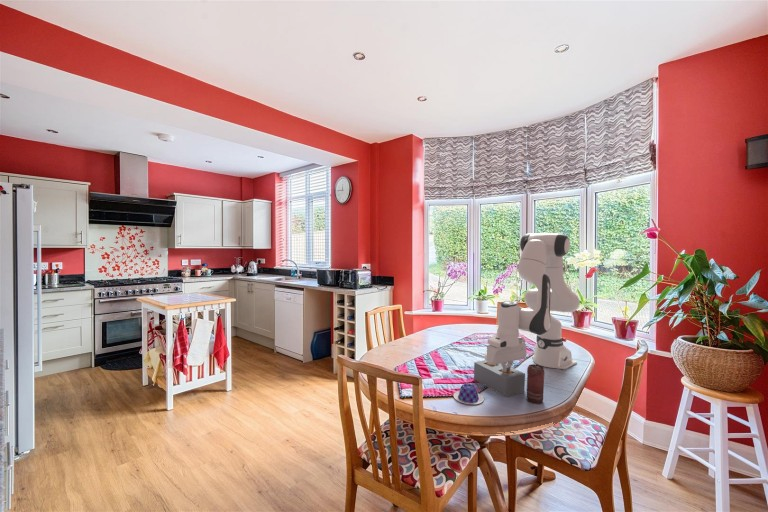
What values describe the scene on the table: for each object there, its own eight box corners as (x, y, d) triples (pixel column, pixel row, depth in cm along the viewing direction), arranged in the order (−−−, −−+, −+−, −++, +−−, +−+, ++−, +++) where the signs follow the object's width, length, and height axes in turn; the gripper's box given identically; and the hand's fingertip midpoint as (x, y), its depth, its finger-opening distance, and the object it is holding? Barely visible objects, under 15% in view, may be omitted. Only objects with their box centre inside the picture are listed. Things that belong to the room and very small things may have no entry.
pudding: (448, 393, 140) (449, 381, 139) (475, 390, 142) (475, 379, 142) (460, 407, 128) (461, 394, 128) (489, 404, 130) (489, 391, 130)
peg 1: (490, 377, 154) (491, 361, 153) (497, 380, 150) (497, 364, 150) (484, 379, 152) (484, 363, 151) (490, 382, 148) (491, 366, 148)
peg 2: (505, 385, 146) (506, 368, 145) (513, 389, 142) (513, 371, 142) (499, 386, 144) (499, 370, 143) (506, 390, 140) (506, 373, 140)
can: (523, 397, 136) (524, 363, 136) (537, 396, 137) (539, 363, 136) (530, 404, 130) (532, 369, 130) (546, 404, 131) (547, 369, 130)
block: (491, 375, 158) (492, 358, 158) (524, 391, 141) (525, 373, 140) (473, 379, 153) (474, 362, 153) (505, 397, 136) (506, 378, 136)
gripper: (519, 334, 149) (517, 364, 150) (484, 340, 140) (483, 372, 141) (530, 338, 143) (529, 369, 144) (495, 344, 134) (494, 377, 135)
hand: (506, 371), depth 142 cm, fingers closed, pressing on peg 2
